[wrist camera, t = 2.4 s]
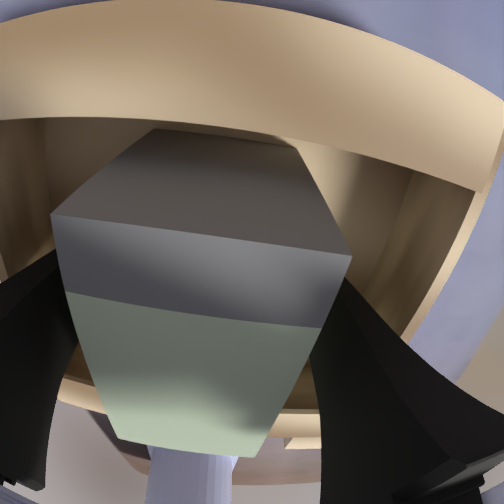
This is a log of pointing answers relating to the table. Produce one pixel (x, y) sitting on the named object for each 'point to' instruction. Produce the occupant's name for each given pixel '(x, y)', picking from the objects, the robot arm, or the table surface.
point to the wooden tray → (251, 137)
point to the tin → (198, 286)
